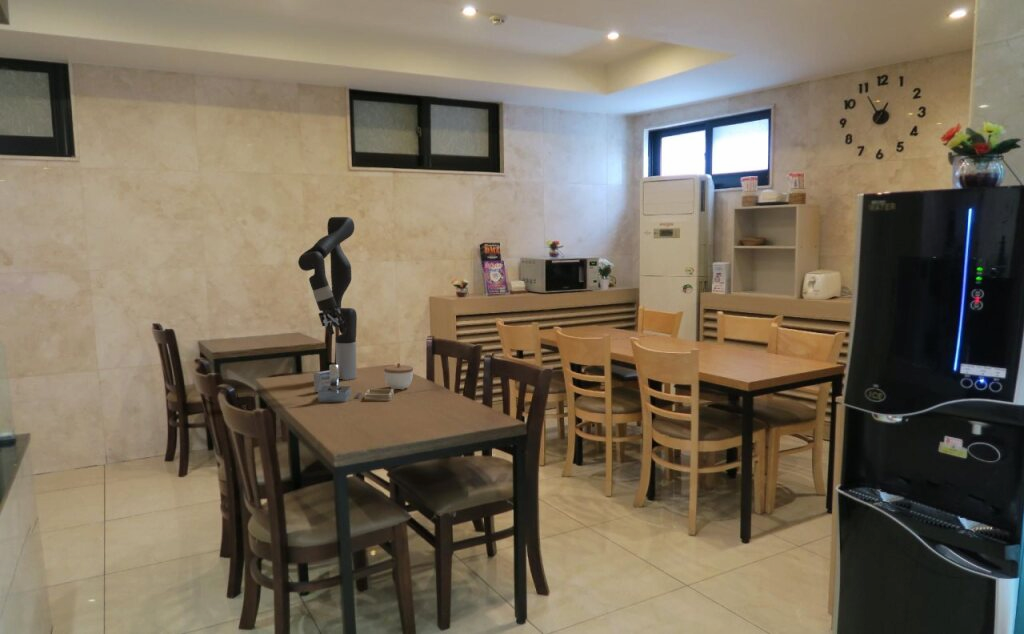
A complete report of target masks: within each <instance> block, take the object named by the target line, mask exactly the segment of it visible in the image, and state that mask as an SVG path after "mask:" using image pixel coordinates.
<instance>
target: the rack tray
mask: <svg viewBox="0 0 1024 634" xmlns="http://www.w3.org/2000/svg"><path fill="white" fill-rule="evenodd" d="M394 390H395V389H391V388H371V389H370V388H369V389H367V390H366V392H365V393H364V394H363V396H364V399H363V401H364V402H381V401H382V402H385V401H387V402H390V401H391V400H392V399H393V397H394V395H395V394H394Z"/></svg>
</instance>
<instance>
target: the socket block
mask: <svg viewBox="0 0 1024 634" xmlns="http://www.w3.org/2000/svg"><path fill="white" fill-rule="evenodd" d="M338 388H339V390H335V391H330V386H324V387H323V388H322V389H321V390H320V391H319V392H318V393H317V403H345V402H347V401H348V400H349V398H350V397H351V396H352V395H351V385H350V386H349V385H347V386H345V385H344V386H343V385H341V386H340V385H338Z"/></svg>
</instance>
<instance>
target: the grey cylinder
mask: <svg viewBox="0 0 1024 634" xmlns="http://www.w3.org/2000/svg"><path fill="white" fill-rule="evenodd" d="M328 369H329V371H330V391H335V390H339V388H338V386H340V385H339V384H340V380H339V367H338V365H337V364H335V363H334V364H329V368H328Z"/></svg>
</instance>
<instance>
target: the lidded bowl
mask: <svg viewBox="0 0 1024 634" xmlns="http://www.w3.org/2000/svg"><path fill="white" fill-rule="evenodd" d="M383 372H384V379H385V382H386V384H387V386H388V387H390V389H394V390H395V389H401V390H406V389H408V387H409V386H410V385H411V384H412V381H413V378H414V366H412V365H407V364H406V365H405V364H402V365H401V363H400V362H398V363H397V364H395V365H388V366H386V367H384V370H383ZM405 388H406V389H405Z"/></svg>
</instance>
